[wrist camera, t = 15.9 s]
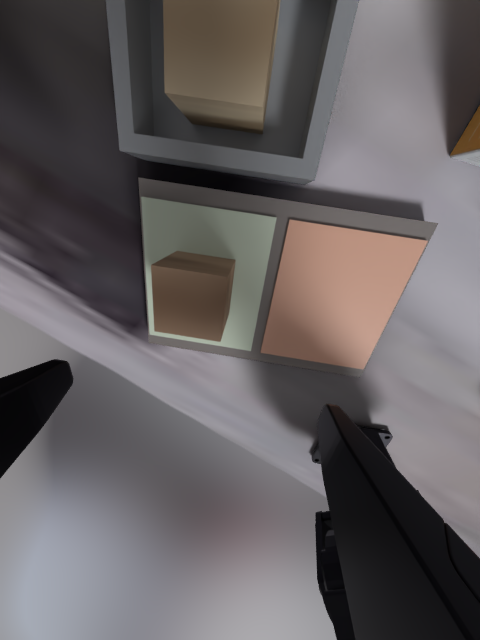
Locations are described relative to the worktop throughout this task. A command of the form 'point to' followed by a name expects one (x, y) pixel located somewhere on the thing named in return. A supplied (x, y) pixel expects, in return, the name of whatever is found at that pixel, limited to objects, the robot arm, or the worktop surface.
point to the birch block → (220, 60)
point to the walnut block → (192, 294)
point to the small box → (469, 142)
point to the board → (286, 272)
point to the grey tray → (282, 106)
